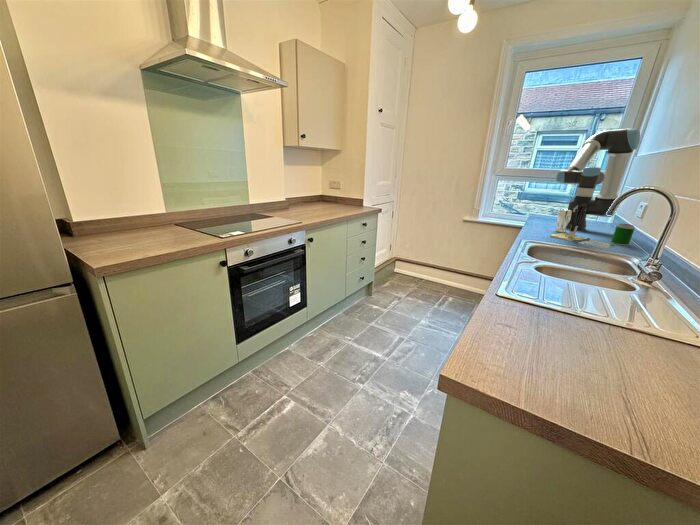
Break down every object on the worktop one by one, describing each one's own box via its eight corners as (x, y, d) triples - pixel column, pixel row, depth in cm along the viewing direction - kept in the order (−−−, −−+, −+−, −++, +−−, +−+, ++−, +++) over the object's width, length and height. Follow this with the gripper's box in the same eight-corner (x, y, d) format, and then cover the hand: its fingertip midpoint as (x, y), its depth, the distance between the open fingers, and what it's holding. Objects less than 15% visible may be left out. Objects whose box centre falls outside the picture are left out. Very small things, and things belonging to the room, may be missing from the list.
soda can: (631, 247, 156) (639, 226, 152) (617, 247, 156) (625, 225, 152) (619, 244, 163) (627, 223, 159) (606, 243, 163) (613, 223, 159)
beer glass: (555, 233, 185) (562, 210, 180) (551, 231, 191) (558, 208, 187) (567, 234, 183) (574, 211, 178) (563, 232, 190) (570, 209, 185)
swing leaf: (563, 234, 177) (564, 231, 176) (589, 241, 166) (591, 238, 165) (549, 236, 169) (550, 233, 169) (576, 244, 158) (577, 240, 157)
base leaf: (585, 241, 167) (587, 237, 166) (616, 247, 155) (617, 243, 155) (572, 243, 160) (573, 239, 159) (603, 250, 148) (604, 246, 147)
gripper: (581, 195, 166) (569, 234, 173) (570, 195, 159) (558, 235, 167) (597, 196, 159) (583, 237, 167) (585, 196, 153) (572, 238, 161)
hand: (571, 236), depth 167 cm, fingers closed
